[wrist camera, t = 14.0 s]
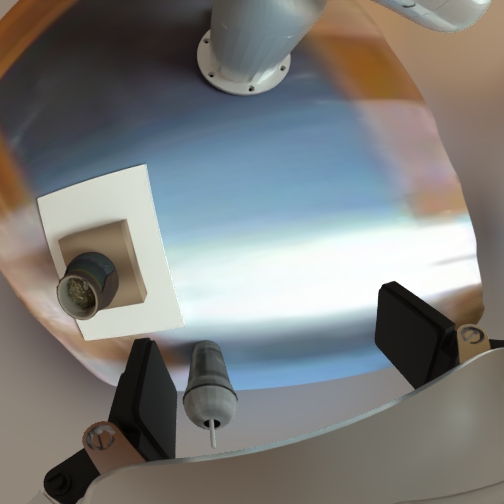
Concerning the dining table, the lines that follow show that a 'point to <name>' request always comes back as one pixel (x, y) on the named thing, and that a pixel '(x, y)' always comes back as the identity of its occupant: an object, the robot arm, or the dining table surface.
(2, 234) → the dining table surface
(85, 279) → the mate gourd
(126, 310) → the board
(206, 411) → the beverage cup
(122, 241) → the walnut plinth
